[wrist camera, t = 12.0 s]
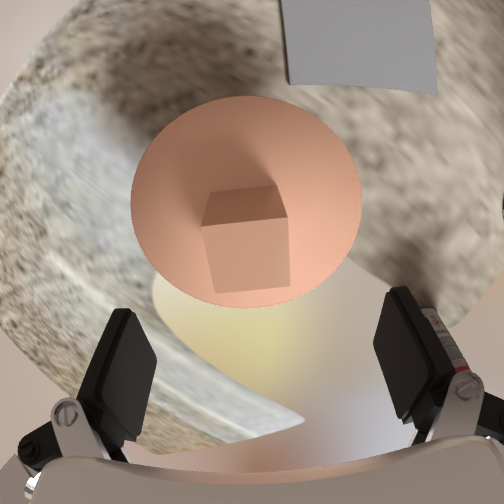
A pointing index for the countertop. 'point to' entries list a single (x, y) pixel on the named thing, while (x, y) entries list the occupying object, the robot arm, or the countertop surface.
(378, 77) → the mat
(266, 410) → the countertop surface
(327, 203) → the lid
